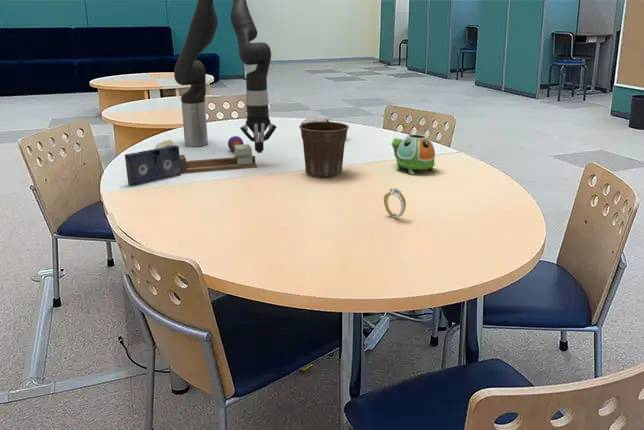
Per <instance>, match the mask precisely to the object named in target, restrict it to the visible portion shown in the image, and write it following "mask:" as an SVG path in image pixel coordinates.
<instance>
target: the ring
mask: <svg viewBox="0 0 644 430" xmlns="http://www.w3.org/2000/svg"><path fill="white" fill-rule="evenodd" d="M391 195H392V196H395V197H396V198H398V200H399V202H400V211H399V213H398V214H396V213H394V212H393V211H392V210H391V209H390V205H389V198H390V196H391ZM383 205H384V208H385V210H386V211H385V212H387V214H388V215H389V216H391V218H392V219H395V218H400V217H402V216H403V214H404V213H405V212H406V205H407V202H406V199H405V196H404V195H403V194H402V191H401V190H399V188H389V192H388V193H385V195H384V196H383Z"/></svg>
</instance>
